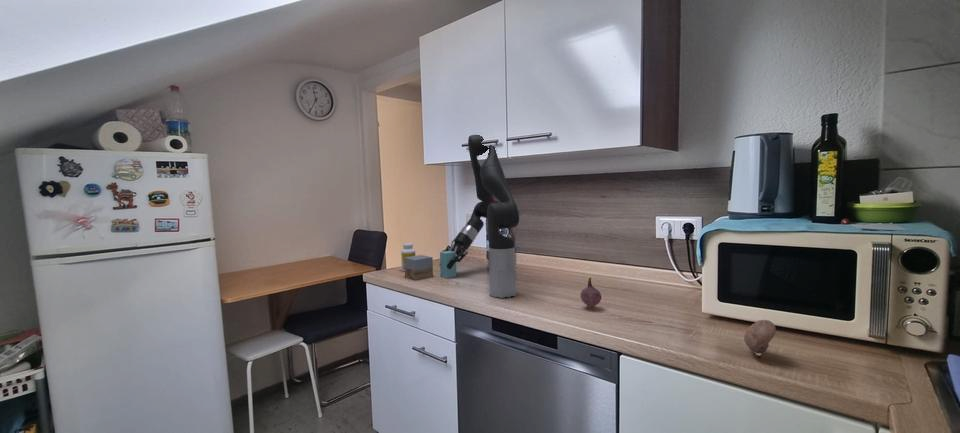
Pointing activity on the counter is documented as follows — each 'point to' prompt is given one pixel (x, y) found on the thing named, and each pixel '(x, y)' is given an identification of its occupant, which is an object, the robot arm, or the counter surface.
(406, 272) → the bottom slab
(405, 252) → the supplement bottle
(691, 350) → the counter surface
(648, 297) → the counter surface
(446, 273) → the teal block
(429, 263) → the top slab
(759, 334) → the mushroom
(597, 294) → the vegetable
